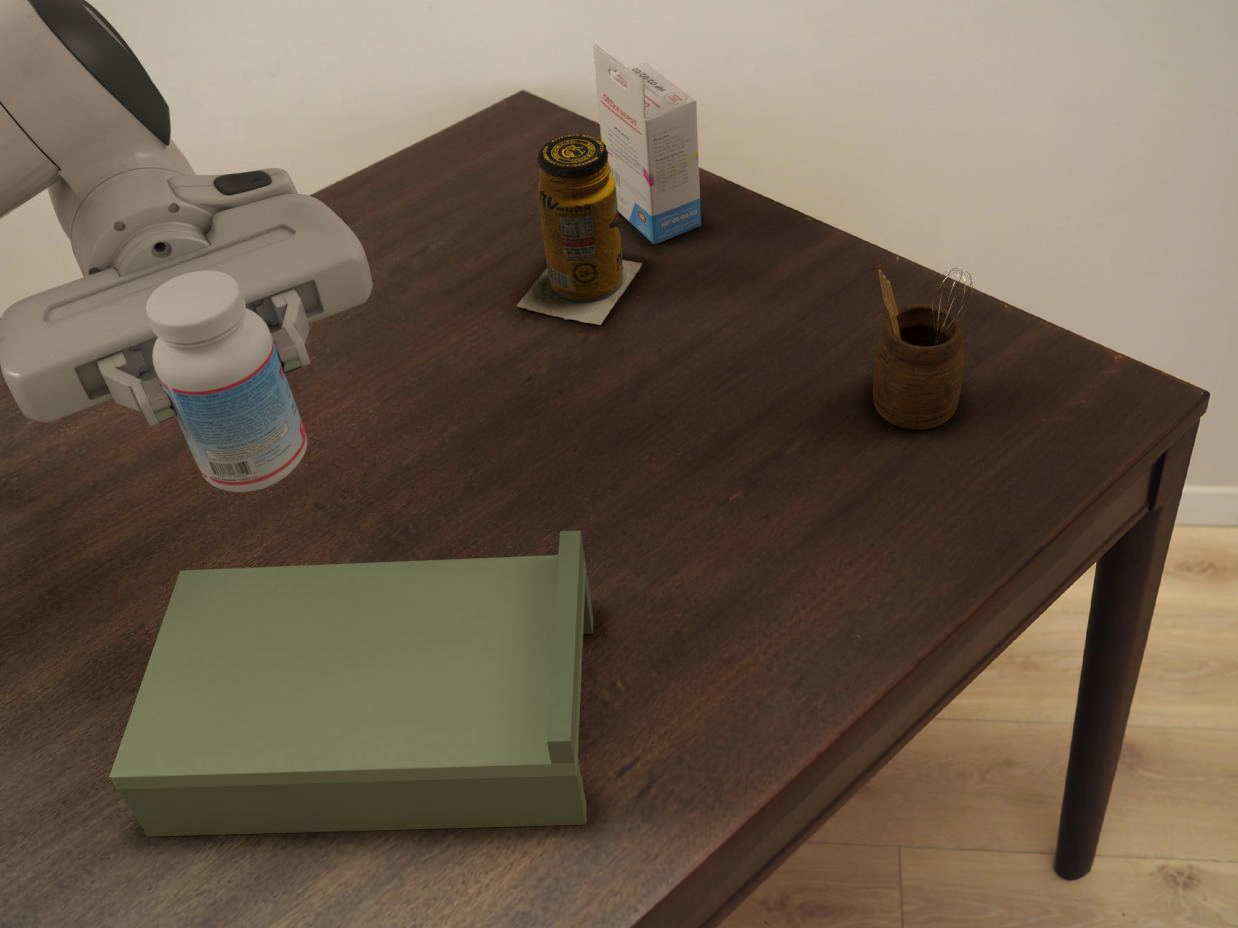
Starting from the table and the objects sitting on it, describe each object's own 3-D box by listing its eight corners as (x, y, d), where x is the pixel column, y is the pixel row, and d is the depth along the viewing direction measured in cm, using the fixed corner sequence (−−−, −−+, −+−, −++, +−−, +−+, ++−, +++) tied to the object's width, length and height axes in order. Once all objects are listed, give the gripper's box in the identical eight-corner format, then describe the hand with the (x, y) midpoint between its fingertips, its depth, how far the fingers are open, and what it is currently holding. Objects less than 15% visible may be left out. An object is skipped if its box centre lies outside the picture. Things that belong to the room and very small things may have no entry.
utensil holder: (973, 420, 88) (996, 279, 79) (889, 443, 87) (903, 302, 78) (934, 369, 92) (952, 229, 83) (853, 390, 91) (863, 250, 82)
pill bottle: (331, 441, 72) (279, 279, 64) (257, 511, 68) (191, 349, 60) (253, 408, 74) (193, 248, 66) (177, 474, 71) (105, 314, 63)
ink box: (704, 227, 107) (698, 63, 97) (653, 247, 105) (642, 83, 95) (653, 182, 112) (642, 23, 102) (604, 201, 111) (588, 42, 101)
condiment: (642, 265, 104) (632, 133, 95) (600, 327, 98) (585, 193, 90) (562, 250, 106) (545, 120, 98) (516, 309, 101) (495, 177, 92)
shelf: (147, 836, 69) (94, 755, 64) (210, 632, 79) (168, 547, 74) (586, 825, 68) (570, 740, 62) (593, 618, 78) (580, 530, 72)
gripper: (-43, 275, 70) (1, 416, 61) (307, 157, 76) (394, 269, 67) (4, 363, 74) (52, 506, 65) (332, 245, 81) (417, 361, 72)
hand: (229, 385), depth 66 cm, fingers closed on pill bottle, 6 cm apart
